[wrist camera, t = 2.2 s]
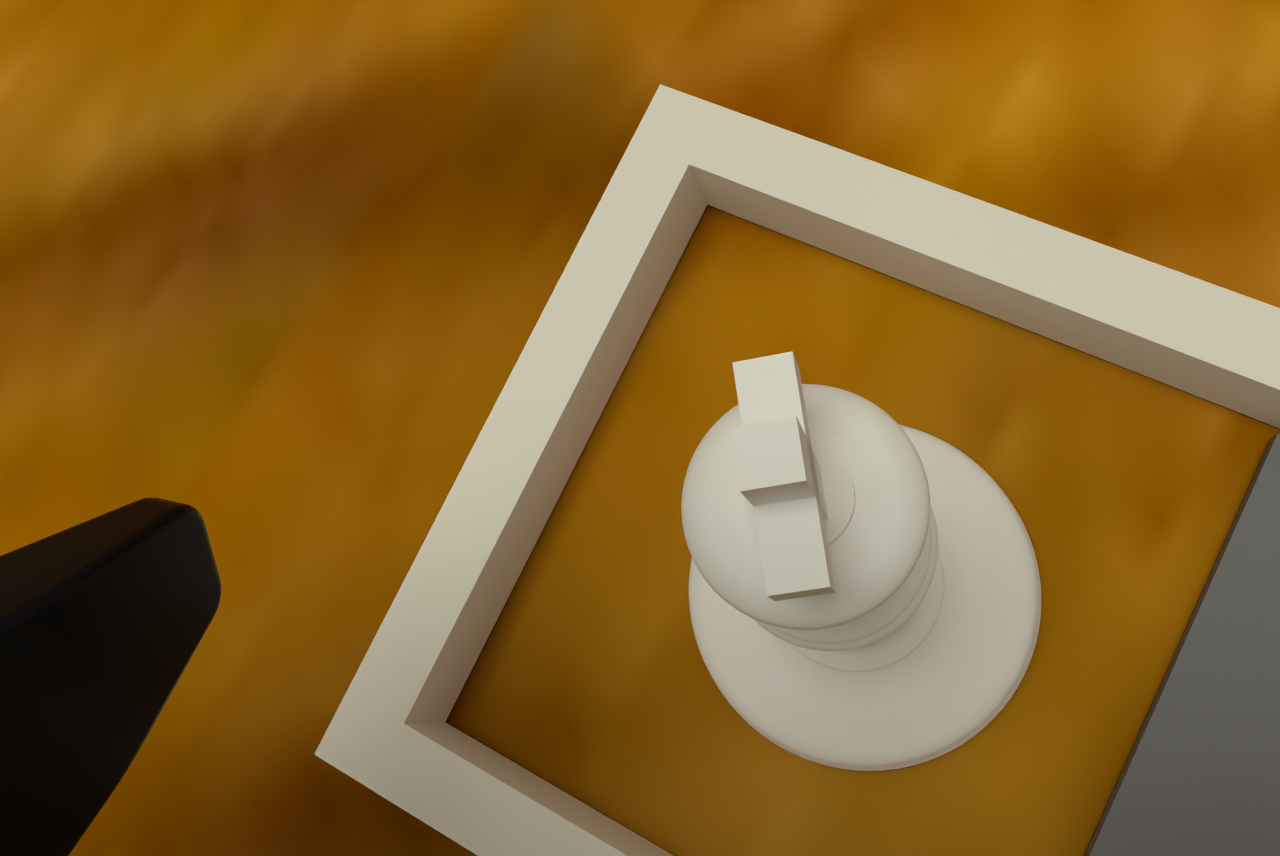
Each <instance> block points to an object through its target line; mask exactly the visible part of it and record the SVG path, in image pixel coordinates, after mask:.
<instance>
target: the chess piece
mask: <svg viewBox="0 0 1280 856" xmlns="http://www.w3.org/2000/svg"><path fill="white" fill-rule="evenodd" d="M733 369H734V376H735V383H736V389H737V396H738V403H739V404H738V405H736V406H735V407H733V408H732V409H731V410H729V411H728V412H727V413H726V414H724V415H723V416H722V417H721V418H720V419H719V420H718V421H717V422H716V423H715V424H714V425H713V426H712V427H711V428H710V430H709V431H708V432H707V433H706V435H705V436H704V438H703V439H702V441H701V442H700V444H699V445H698V447H697V449H696V451H695V453H694V455H693V457H692V459H691V461H690V464H689V467H688V469H687V473H686V476H685V480H684V485H683V491H682V501H681V514H682V524H683V530H684V535H685V539H686V543H687V546H688V549H689V551H690V554H691V556H692V559H691V565H690V573H689V608H690V616H691V622H692V627H693V631H694V635H695V639H696V642H697V645H698V648H699V651H700V653H701V656H702V658H703V661H704V663H705V665H706V667H707V669H708V671H709V673H710V675H711V676H712V678H713V680H714V682H715V683H716V685H717V687H718V688H719V690H720V691H721V693H722V694H723V696H724V697H725V698H726V700H727V701H728V702H729V704H730V705H731V706H732V707H733V708H734V710H735V711H736V712H737V713H738V714H739V715H740V716H741V717H742V718H743V719H744V720H745V721H746V722H747V723H748V724H749V725H750V726H751V727H753V728H754V729H755V730H756V731H757V732H759V733H760V734H761V735H763V736H764V737H765V738H767V739H768V740H770V741H771V742H773V743H774V744H776V745H778V746H779V747H781V748H783V749H785V750H787V751H789V752H791V753H793V754H795V755H797V756H799V757H802V758H804V759H807V760H809V761H812V762H815V763H819V764H822V765H826V766H830V767H835V768H840V769H847V770H857V771H882V770H892V769H899V768H904V767H909V766H913V765H917V764H920V763H923V762H926V761H929V760H932V759H934V758H937V757H939V756H942V755H944V754H946V753H948V752H950V751H952V750H954V749H955V748H957V747H959V746H960V745H962V744H964V743H965V742H967V741H968V740H970V739H971V738H972V737H974V736H975V735H976V734H978V733H979V732H980V731H981V730H982V729H984V728H985V727H986V726H987V725H988V724H989V723H990V722H991V721H992V720H993V719H994V718H995V717H996V716H997V715H998V714H999V713H1000V711H1001V710H1002V709H1003V708H1004V707H1005V705H1006V704H1007V703H1008V701H1009V700H1010V699H1011V697H1012V696H1013V694H1014V693H1015V691H1016V690H1017V688H1018V686H1019V684H1020V683H1021V681H1022V679H1023V677H1024V675H1025V673H1026V671H1027V668H1028V666H1029V663H1030V661H1031V658H1032V655H1033V652H1034V649H1035V645H1036V642H1037V637H1038V632H1039V627H1040V619H1041V582H1040V575H1039V569H1038V564H1037V560H1036V556H1035V552H1034V549H1033V546H1032V543H1031V540H1030V537H1029V535H1028V532H1027V530H1026V528H1025V526H1024V524H1023V522H1022V520H1021V518H1020V516H1019V514H1018V513H1017V511H1016V509H1015V508H1014V506H1013V504H1012V503H1011V501H1010V500H1009V499H1008V497H1007V496H1006V495H1005V493H1004V492H1003V491H1002V489H1001V488H1000V487H999V486H998V484H997V483H996V482H995V481H994V480H993V479H992V478H991V477H990V476H989V475H988V474H987V473H986V472H985V471H984V470H983V469H982V468H981V467H980V466H979V465H978V464H977V463H976V462H974V461H973V460H972V459H971V458H969V457H968V456H967V455H965V454H964V453H963V452H961V451H960V450H958V449H957V448H955V447H953V446H952V445H950V444H948V443H946V442H945V441H943V440H941V439H939V438H937V437H935V436H932V435H930V434H928V433H925V432H922V431H920V430H917V429H914V428H910V427H907V426H903V425H899V424H897V422H896V421H895V420H894V419H892V418H891V417H890V416H889V415H888V414H887V413H886V412H884V411H883V410H882V409H881V408H879V407H878V406H876V405H875V404H873V403H872V402H870V401H868V400H867V399H865V398H863V397H861V396H859V395H856V394H854V393H851V392H849V391H846V390H843V389H839V388H835V387H830V386H824V385H815V384H802V383H801V377H800V371H799V367H798V364H797V362H796V359H795V357H794V354H793V352H787V353H781V354H776V355H771V356H765V357H760V358H755V359H749V360H744V361H739V362H733Z"/></svg>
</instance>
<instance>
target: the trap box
mask: <svg viewBox="0 0 1280 856" xmlns="http://www.w3.org/2000/svg"><path fill="white" fill-rule="evenodd" d="M707 205H710V206H712V207H715V208H717V209H720V210H722V211H725V212H728V213H730V214H733V215H735V216H738V217H740V218H743V219H745V220H748V221H751V222H753V223H756V224H758V225H761V226H763V227H766V228H768V229H771V230H774V231H776V232H779V233H781V234H784V235H786V236H789V237H791V238H794V239H797V240H799V241H802V242H804V243H807V244H809V245H812V246H814V247H817V248H820V249H822V250H825V251H827V252H830V253H832V254H835V255H837V256H840V257H843V258H845V259H848V260H850V261H853V262H855V263H858V264H860V265H863V266H866V267H868V268H871V269H873V270H876V271H878V272H881V273H883V274H886V275H889V276H891V277H894V278H896V279H899V280H901V281H904V282H906V283H909V284H912V285H914V286H917V287H919V288H922V289H924V290H927V291H929V292H932V293H935V294H937V295H940V296H942V297H945V298H947V299H950V300H952V301H955V302H958V303H960V304H963V305H965V306H968V307H970V308H973V309H975V310H978V311H981V312H983V313H986V314H988V315H991V316H993V317H996V318H998V319H1001V320H1004V321H1006V322H1009V323H1011V324H1014V325H1016V326H1019V327H1021V328H1024V329H1027V330H1029V331H1032V332H1034V333H1037V334H1039V335H1042V336H1044V337H1047V338H1050V339H1052V340H1055V341H1057V342H1060V343H1062V344H1065V345H1067V346H1070V347H1073V348H1075V349H1078V350H1080V351H1083V352H1085V353H1088V354H1090V355H1093V356H1096V357H1098V358H1101V359H1103V360H1106V361H1108V362H1111V363H1113V364H1116V365H1119V366H1121V367H1124V368H1126V369H1129V370H1131V371H1134V372H1136V373H1139V374H1142V375H1144V376H1147V377H1149V378H1152V379H1154V380H1157V381H1159V382H1162V383H1165V384H1167V385H1170V386H1172V387H1175V388H1177V389H1180V390H1182V391H1185V392H1188V393H1190V394H1193V395H1195V396H1198V397H1200V398H1203V399H1205V400H1208V401H1211V402H1213V403H1216V404H1218V405H1221V406H1223V407H1226V408H1228V409H1231V410H1234V411H1236V412H1239V413H1241V414H1244V415H1246V416H1249V417H1251V418H1254V419H1257V420H1259V421H1262V422H1264V423H1267V424H1269V425H1272V426H1274V427H1277V428H1280V308H1277V307H1275V306H1272V305H1269V304H1266V303H1264V302H1261V301H1258V300H1255V299H1253V298H1250V297H1247V296H1244V295H1241V294H1239V293H1236V292H1233V291H1230V290H1228V289H1225V288H1222V287H1219V286H1217V285H1214V284H1211V283H1208V282H1205V281H1203V280H1200V279H1197V278H1194V277H1192V276H1189V275H1186V274H1183V273H1181V272H1178V271H1175V270H1172V269H1170V268H1167V267H1164V266H1161V265H1158V264H1156V263H1153V262H1150V261H1147V260H1145V259H1142V258H1139V257H1136V256H1134V255H1131V254H1128V253H1125V252H1123V251H1120V250H1117V249H1114V248H1111V247H1109V246H1106V245H1103V244H1100V243H1098V242H1095V241H1092V240H1089V239H1087V238H1084V237H1081V236H1078V235H1076V234H1073V233H1070V232H1067V231H1064V230H1062V229H1059V228H1056V227H1053V226H1051V225H1048V224H1045V223H1042V222H1040V221H1037V220H1034V219H1031V218H1029V217H1026V216H1023V215H1020V214H1017V213H1015V212H1012V211H1009V210H1006V209H1004V208H1001V207H998V206H995V205H993V204H990V203H987V202H984V201H981V200H979V199H976V198H973V197H970V196H968V195H965V194H962V193H959V192H957V191H954V190H951V189H948V188H946V187H943V186H940V185H937V184H934V183H932V182H929V181H926V180H923V179H921V178H918V177H915V176H912V175H910V174H907V173H904V172H901V171H899V170H896V169H893V168H890V167H887V166H885V165H882V164H879V163H876V162H874V161H871V160H868V159H865V158H863V157H860V156H857V155H854V154H852V153H849V152H846V151H843V150H840V149H838V148H835V147H832V146H829V145H827V144H824V143H821V142H818V141H816V140H813V139H810V138H807V137H805V136H802V135H799V134H796V133H793V132H791V131H788V130H785V129H782V128H780V127H777V126H774V125H771V124H769V123H766V122H763V121H760V120H757V119H755V118H752V117H749V116H746V115H744V114H741V113H738V112H735V111H733V110H730V109H727V108H724V107H722V106H719V105H716V104H713V103H710V102H708V101H705V100H702V99H699V98H697V97H694V96H691V95H688V94H686V93H683V92H680V91H677V90H675V89H672V88H669V87H666V86H663V85H661V84H660V86H659V88H658V90H657V91H656V93H655V95H654V97H653V99H652V101H651V103H650V105H649V107H648V109H647V111H646V113H645V115H644V117H643V119H642V121H641V122H640V124H639V126H638V128H637V130H636V132H635V134H634V136H633V138H632V140H631V142H630V144H629V146H628V148H627V150H626V152H625V153H624V155H623V157H622V159H621V161H620V163H619V165H618V167H617V169H616V171H615V173H614V175H613V177H612V179H611V181H610V182H609V184H608V186H607V188H606V190H605V192H604V194H603V196H602V198H601V200H600V202H599V204H598V206H597V208H596V210H595V212H594V213H593V215H592V217H591V219H590V221H589V223H588V225H587V227H586V229H585V231H584V233H583V235H582V237H581V239H580V241H579V243H578V244H577V246H576V248H575V250H574V252H573V254H572V256H571V258H570V260H569V262H568V264H567V266H566V268H565V270H564V272H563V274H562V275H561V277H560V279H559V281H558V283H557V285H556V287H555V289H554V291H553V293H552V295H551V297H550V299H549V301H548V303H547V305H546V306H545V308H544V310H543V312H542V314H541V316H540V318H539V320H538V322H537V324H536V326H535V328H534V330H533V332H532V334H531V335H530V337H529V339H528V341H527V343H526V345H525V347H524V349H523V351H522V353H521V355H520V357H519V359H518V361H517V363H516V365H515V366H514V368H513V370H512V372H511V374H510V376H509V378H508V380H507V382H506V384H505V386H504V388H503V390H502V392H501V394H500V396H499V397H498V399H497V401H496V403H495V405H494V407H493V409H492V411H491V413H490V415H489V417H488V419H487V421H486V423H485V425H484V427H483V428H482V430H481V432H480V434H479V436H478V438H477V440H476V442H475V444H474V446H473V448H472V450H471V452H470V454H469V456H468V458H467V459H466V461H465V463H464V465H463V467H462V469H461V471H460V473H459V475H458V477H457V479H456V481H455V483H454V485H453V487H452V488H451V490H450V492H449V494H448V496H447V498H446V500H445V502H444V504H443V506H442V508H441V510H440V512H439V514H438V516H437V518H436V519H435V521H434V523H433V525H432V527H431V529H430V531H429V533H428V535H427V537H426V539H425V541H424V543H423V545H422V547H421V549H420V550H419V552H418V554H417V556H416V558H415V560H414V562H413V564H412V566H411V568H410V570H409V572H408V574H407V576H406V578H405V580H404V581H403V583H402V585H401V587H400V589H399V591H398V593H397V595H396V597H395V599H394V601H393V603H392V605H391V607H390V609H389V611H388V612H387V614H386V616H385V618H384V620H383V622H382V624H381V626H380V628H379V630H378V632H377V634H376V636H375V638H374V640H373V641H372V643H371V645H370V647H369V649H368V651H367V653H366V655H365V657H364V659H363V661H362V663H361V665H360V667H359V669H358V671H357V672H356V674H355V676H354V678H353V680H352V682H351V684H350V686H349V688H348V690H347V692H346V694H345V696H344V698H343V700H342V702H341V703H340V705H339V707H338V709H337V711H336V713H335V715H334V717H333V719H332V721H331V723H330V725H329V727H328V729H327V731H326V733H325V734H324V736H323V738H322V740H321V742H320V744H319V746H318V748H317V750H316V752H315V754H314V755H316V756H318V757H319V758H321V759H322V760H324V761H326V762H327V763H329V764H330V765H332V766H334V767H335V768H337V769H339V770H340V771H342V772H343V773H345V774H347V775H348V776H350V777H351V778H353V779H355V780H356V781H358V782H360V783H361V784H363V785H364V786H366V787H368V788H369V789H371V790H372V791H374V792H376V793H377V794H379V795H381V796H382V797H384V798H385V799H387V800H389V801H390V802H392V803H393V804H395V805H397V806H398V807H400V808H401V809H403V810H405V811H406V812H408V813H410V814H411V815H413V816H414V817H416V818H418V819H419V820H421V821H422V822H424V823H426V824H427V825H429V826H431V827H432V828H434V829H435V830H437V831H439V832H440V833H442V834H443V835H445V836H447V837H448V838H450V839H452V840H453V841H455V842H456V843H458V844H460V845H461V846H463V847H464V848H466V849H468V850H469V851H471V852H473V853H474V854H476V855H477V856H673V855H672V854H670V853H668V852H667V851H665V850H663V849H661V848H660V847H658V846H656V845H655V844H653V843H651V842H650V841H648V840H646V839H644V838H643V837H641V836H639V835H638V834H636V833H634V832H632V831H631V830H629V829H627V828H626V827H624V826H622V825H620V824H619V823H617V822H615V821H614V820H612V819H610V818H608V817H607V816H605V815H603V814H602V813H600V812H598V811H596V810H595V809H593V808H591V807H590V806H588V805H586V804H584V803H583V802H581V801H579V800H578V799H576V798H574V797H572V796H571V795H569V794H567V793H566V792H564V791H562V790H560V789H559V788H557V787H555V786H554V785H552V784H550V783H548V782H547V781H545V780H543V779H542V778H540V777H538V776H537V775H535V774H533V773H531V772H530V771H528V770H526V769H525V768H523V767H521V766H519V765H518V764H516V763H514V762H513V761H511V760H509V759H507V758H506V757H504V756H502V755H501V754H499V753H497V752H495V751H494V750H492V749H490V748H489V747H487V746H485V745H483V744H482V743H480V742H478V741H477V740H475V739H473V738H471V737H470V736H468V735H466V734H465V733H463V732H461V731H459V730H458V729H456V728H454V727H453V726H451V725H449V724H447V723H446V720H447V718H448V716H449V714H450V712H451V710H452V708H453V706H454V704H455V702H456V700H457V698H458V696H459V694H460V692H461V690H462V688H463V686H464V684H465V682H466V680H467V678H468V676H469V674H470V672H471V671H472V669H473V667H474V665H475V663H476V661H477V659H478V657H479V655H480V653H481V651H482V649H483V647H484V645H485V643H486V641H487V639H488V637H489V635H490V633H491V631H492V629H493V627H494V625H495V623H496V621H497V619H498V617H499V615H500V613H501V611H502V609H503V607H504V605H505V603H506V601H507V599H508V597H509V595H510V593H511V592H512V590H513V588H514V586H515V584H516V582H517V580H518V578H519V576H520V574H521V572H522V570H523V568H524V566H525V564H526V562H527V560H528V558H529V556H530V554H531V552H532V550H533V548H534V546H535V544H536V542H537V540H538V538H539V536H540V534H541V532H542V530H543V528H544V526H545V524H546V522H547V520H548V518H549V516H550V515H551V513H552V511H553V509H554V507H555V505H556V503H557V501H558V499H559V497H560V495H561V493H562V491H563V489H564V487H565V485H566V483H567V481H568V479H569V477H570V475H571V473H572V471H573V469H574V467H575V465H576V463H577V461H578V459H579V457H580V455H581V453H582V451H583V449H584V447H585V445H586V443H587V441H588V439H589V438H590V436H591V434H592V432H593V430H594V428H595V426H596V424H597V422H598V420H599V418H600V416H601V414H602V412H603V410H604V408H605V406H606V404H607V402H608V400H609V398H610V396H611V394H612V392H613V390H614V388H615V386H616V384H617V382H618V380H619V378H620V376H621V374H622V372H623V370H624V368H625V366H626V364H627V362H628V360H629V359H630V357H631V355H632V353H633V351H634V349H635V347H636V345H637V343H638V341H639V339H640V337H641V335H642V333H643V331H644V329H645V327H646V325H647V323H648V321H649V319H650V317H651V315H652V313H653V311H654V309H655V307H656V305H657V303H658V301H659V299H660V297H661V295H662V293H663V291H664V289H665V287H666V285H667V283H668V282H669V280H670V278H671V276H672V274H673V272H674V270H675V268H676V266H677V264H678V262H679V260H680V258H681V256H682V254H683V252H684V250H685V248H686V246H687V244H688V242H689V240H690V238H691V236H692V234H693V232H694V230H695V228H696V226H697V224H698V222H699V220H700V218H701V216H702V214H703V212H704V210H705V208H706V206H707ZM1084 856H1280V434H1276V435H1275V436H1274V437H1273V438H1271V439H1270V440H1269V443H1268V445H1267V447H1266V449H1265V452H1264V454H1263V456H1262V458H1261V461H1260V463H1259V465H1258V467H1257V469H1256V472H1255V474H1254V476H1253V478H1252V481H1251V483H1250V485H1249V487H1248V490H1247V492H1246V494H1245V496H1244V499H1243V501H1242V503H1241V505H1240V508H1239V510H1238V512H1237V514H1236V517H1235V519H1234V521H1233V523H1232V526H1231V528H1230V530H1229V532H1228V535H1227V537H1226V539H1225V541H1224V543H1223V546H1222V548H1221V550H1220V552H1219V555H1218V557H1217V559H1216V561H1215V564H1214V566H1213V568H1212V570H1211V573H1210V575H1209V577H1208V579H1207V582H1206V584H1205V586H1204V588H1203V591H1202V593H1201V595H1200V597H1199V600H1198V602H1197V604H1196V606H1195V609H1194V611H1193V613H1192V615H1191V617H1190V620H1189V622H1188V624H1187V626H1186V629H1185V631H1184V633H1183V635H1182V638H1181V640H1180V642H1179V644H1178V647H1177V649H1176V651H1175V653H1174V656H1173V658H1172V660H1171V662H1170V665H1169V667H1168V669H1167V671H1166V674H1165V676H1164V678H1163V680H1162V683H1161V685H1160V687H1159V689H1158V691H1157V694H1156V696H1155V698H1154V700H1153V703H1152V705H1151V707H1150V709H1149V712H1148V714H1147V716H1146V718H1145V721H1144V723H1143V725H1142V727H1141V730H1140V732H1139V734H1138V736H1137V739H1136V741H1135V743H1134V745H1133V748H1132V750H1131V752H1130V754H1129V757H1128V759H1127V761H1126V763H1125V765H1124V768H1123V770H1122V772H1121V774H1120V777H1119V779H1118V781H1117V783H1116V786H1115V788H1114V790H1113V792H1112V795H1111V797H1110V799H1109V801H1108V804H1107V806H1106V808H1105V810H1104V813H1103V815H1102V817H1101V819H1100V822H1099V824H1098V826H1097V828H1096V831H1095V833H1094V835H1093V837H1092V839H1091V842H1090V844H1089V846H1088V848H1087V851H1086V853H1085V855H1084Z"/></svg>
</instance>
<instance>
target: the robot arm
mask: <svg viewBox="0 0 1280 856" xmlns="http://www.w3.org/2000/svg"><path fill="white" fill-rule="evenodd" d="M220 596H221V582H220V577H219V574H218V570H217V566H216V563H215V559H214V556H213V552H212V548H211V545H210V541H209V537H208V534H207V530H206V527H205V523H204V520H203V518H202V516H201V514H200V513H199V512H198V511H197V510H196V509H195V508H194V507H192V506H190V505H187V504H182V503H177V502H173V501H168V500H164V499H159V498H144V499H141V500H138V501H136V502H133V503H131V504H128V505H126V506H123V507H121V508H118V509H116V510H113V511H111V512H108V513H106V514H103V515H101V516H98V517H96V518H93V519H91V520H89V521H86V522H84V523H81V524H79V525H76V526H74V527H71V528H69V529H66V530H64V531H61V532H59V533H56V534H54V535H51V536H49V537H46V538H44V539H42V540H39V541H37V542H34V543H32V544H29V545H27V546H24V547H22V548H19V549H17V550H14V551H12V552H9V553H7V554H4V555H2V556H0V856H69V854H70V853H71V851H72V850H73V848H74V847H75V845H76V844H77V843H78V841H79V840H80V838H81V837H82V835H83V834H84V833H85V831H86V830H87V828H88V827H89V825H90V824H91V823H92V821H93V820H94V818H95V817H96V815H97V814H98V813H99V811H100V810H101V808H102V807H103V805H104V804H105V802H106V801H107V800H108V798H109V797H110V795H111V794H112V792H113V791H114V789H115V788H116V786H117V785H118V783H119V782H120V780H121V778H122V777H123V775H124V774H125V772H126V771H127V769H128V767H129V766H130V764H131V762H132V761H133V759H134V757H135V756H136V754H137V752H138V751H139V749H140V747H141V746H142V744H143V742H144V740H145V739H146V737H147V735H148V733H149V731H150V730H151V728H152V726H153V724H154V723H155V721H156V719H157V717H158V715H159V714H160V712H161V710H162V708H163V706H164V705H165V703H166V701H167V699H168V698H169V696H170V694H171V692H172V690H173V689H174V687H175V685H176V683H177V681H178V680H179V678H180V676H181V674H182V673H183V671H184V669H185V667H186V665H187V664H188V662H189V660H190V658H191V656H192V655H193V653H194V651H195V649H196V648H197V646H198V644H199V642H200V640H201V639H202V637H203V635H204V633H205V631H206V630H207V628H208V626H209V624H210V623H211V621H212V619H213V617H214V615H215V613H216V611H217V608H218V605H219V601H220Z"/></svg>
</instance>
